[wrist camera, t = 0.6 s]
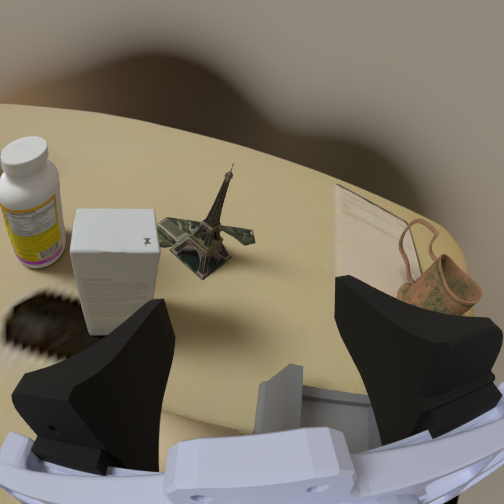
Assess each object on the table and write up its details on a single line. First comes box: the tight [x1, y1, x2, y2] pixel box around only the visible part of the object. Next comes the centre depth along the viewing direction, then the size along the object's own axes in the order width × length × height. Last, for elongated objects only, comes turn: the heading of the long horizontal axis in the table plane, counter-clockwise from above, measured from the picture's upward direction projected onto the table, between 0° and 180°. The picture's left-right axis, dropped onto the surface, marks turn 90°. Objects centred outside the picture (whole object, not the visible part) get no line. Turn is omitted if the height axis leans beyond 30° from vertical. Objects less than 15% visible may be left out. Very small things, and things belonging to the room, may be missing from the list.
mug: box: [397, 219, 483, 316], centre depth 40 cm, size 12×18×12 cm, turn 46°
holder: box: [254, 364, 382, 454], centre depth 23 cm, size 9×14×6 cm, turn 83°
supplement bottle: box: [0, 136, 66, 268], centre depth 23 cm, size 7×7×13 cm
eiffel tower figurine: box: [156, 163, 255, 280], centre depth 31 cm, size 15×10×13 cm
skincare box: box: [70, 208, 161, 335], centre depth 22 cm, size 6×4×12 cm
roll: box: [159, 411, 241, 473], centre depth 18 cm, size 9×6×6 cm, turn 83°
